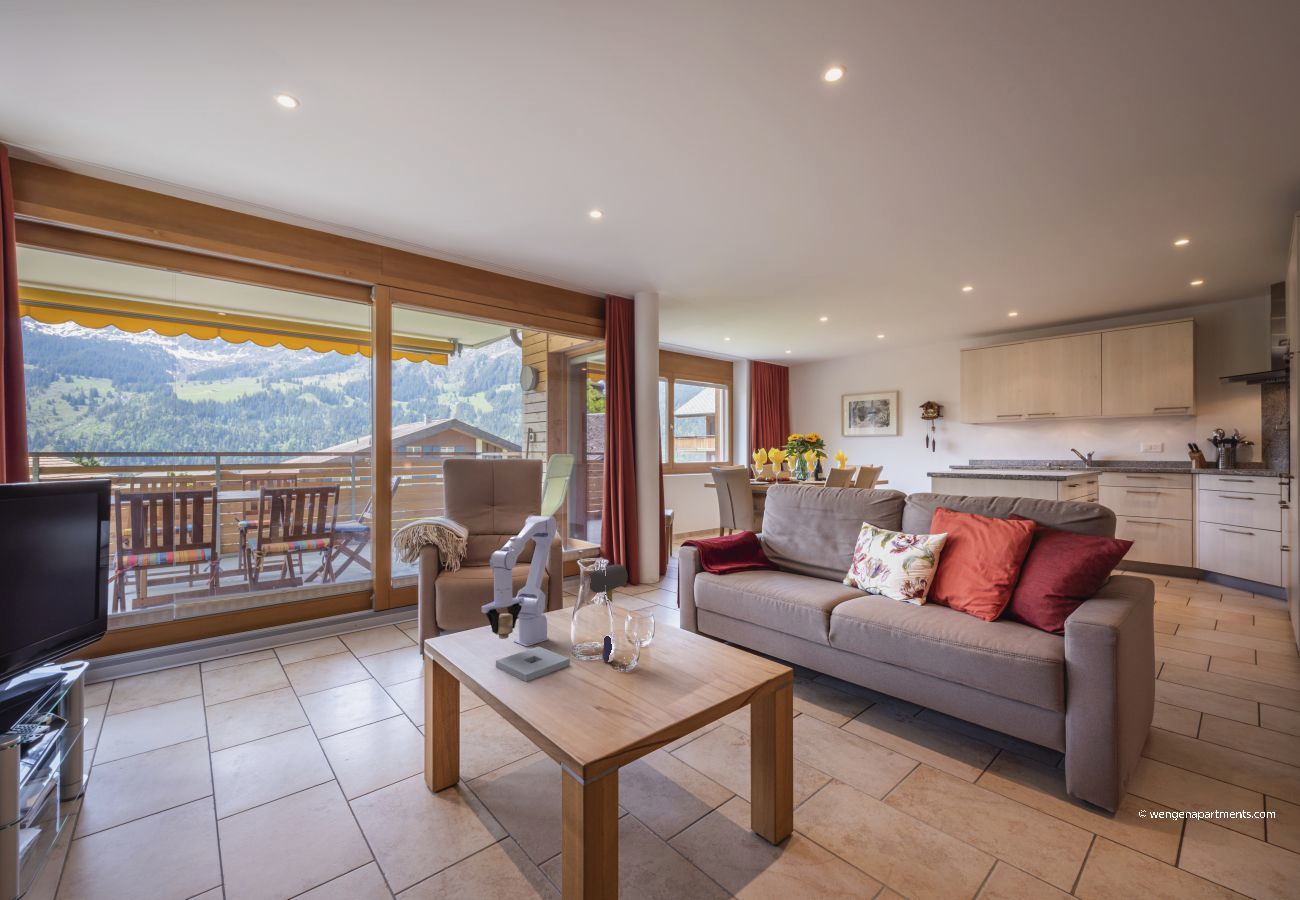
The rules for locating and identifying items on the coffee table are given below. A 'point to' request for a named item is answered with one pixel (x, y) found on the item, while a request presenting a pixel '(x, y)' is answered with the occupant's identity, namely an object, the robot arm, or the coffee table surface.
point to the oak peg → (505, 625)
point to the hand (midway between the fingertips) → (503, 630)
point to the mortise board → (532, 663)
